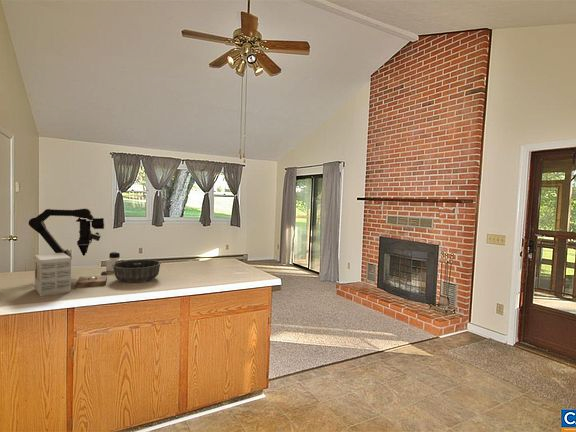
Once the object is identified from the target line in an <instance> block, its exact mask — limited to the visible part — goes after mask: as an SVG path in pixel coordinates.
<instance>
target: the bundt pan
mask: <svg viewBox="0 0 576 432" xmlns="http://www.w3.org/2000/svg"><path fill="white" fill-rule="evenodd" d="M161 264H162V262H160V261H159V260H155V259H154V260H153V259H131V260H130V259H129V260H125V261H124V260H123V261H122V262H118V263H115V264H113V265H112V266H113V268H114V272H113V273H114V276H115V278H116V279H117V280H118V281H119V282H122V283H125V284H126V283H128V284H130V283H131V284H132V283H135V284H137V283H144V282H150V281H152V280H154V279H156V277H157V276H158V275H159V272H160V266H161Z"/></svg>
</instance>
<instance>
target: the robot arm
mask: <svg viewBox="0 0 576 432" xmlns="http://www.w3.org/2000/svg"><path fill="white" fill-rule="evenodd" d="M52 216H55V217H56V216H57V217H60V216H61V217H75V218H78V219H76V220H75V222H76V223H79V231H78V233H79V238H78V240H77V242H76V245H77V246H78V249H79V250H80V252H81V255H82V256H86V254H87V253H88V249H89V245H90V244H91V243H92V241H93V240H94V241H96V242H99V241H100V239H101V237H102V235H101V234H100V233H99V232H98V231H97V232H95V233H93V232H92V229H91V228H93V229H94V230H105V220H104V219H105V218H104V217H100V218H99V217H98V218H97V217H96V218H95V217H94V215H92V211H91V210H90V209H89V208H78V209H58V208H57V209H55V208H54V209H52V208H46V209H45V210H44V211H42V212H41V213H39V214H38V215H37V216H36V217H32V218H30V219H29V220H28V225H29V226H30V228H32V229H33V230H34V231H36V232H37V233H38V234H39V235H40V236H41V237H42V238H43V240H44V241H45V242H46V243H47V245H48V246H49V247H50V248H51V249H52V251H53V253H65V254H66V255H68V256H70V257H71V260H72V258H73V256H72V253H71V252H70V251H69V249H68V248H67V249H64V248H62V246H61V245H60V244H59V242H58V241H57V240H56V239H55V238H54V236H53V235H52V234H51V233H50V231H49V230H48V229H47V226H46V224H45V222H44V221H46V220H47V219H48V218H49V217H52Z"/></svg>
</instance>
